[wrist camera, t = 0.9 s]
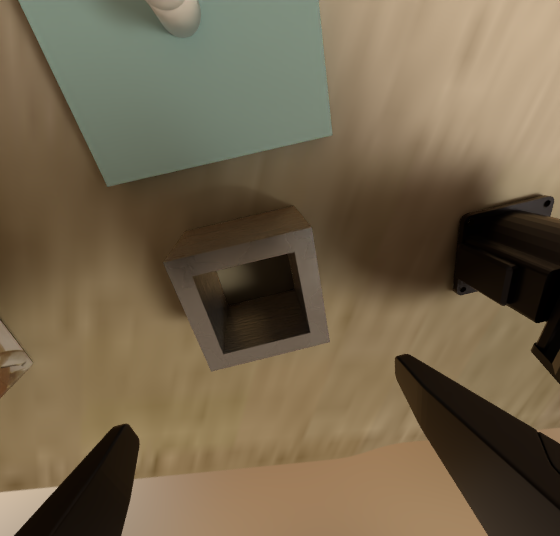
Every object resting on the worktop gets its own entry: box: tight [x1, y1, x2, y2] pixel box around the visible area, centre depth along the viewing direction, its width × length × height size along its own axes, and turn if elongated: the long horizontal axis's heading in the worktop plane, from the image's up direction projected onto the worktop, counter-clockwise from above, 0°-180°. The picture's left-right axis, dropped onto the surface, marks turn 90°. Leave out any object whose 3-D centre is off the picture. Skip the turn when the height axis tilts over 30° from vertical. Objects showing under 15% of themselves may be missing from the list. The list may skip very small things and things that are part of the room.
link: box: [163, 206, 330, 371], centre depth 16 cm, size 7×7×5 cm
